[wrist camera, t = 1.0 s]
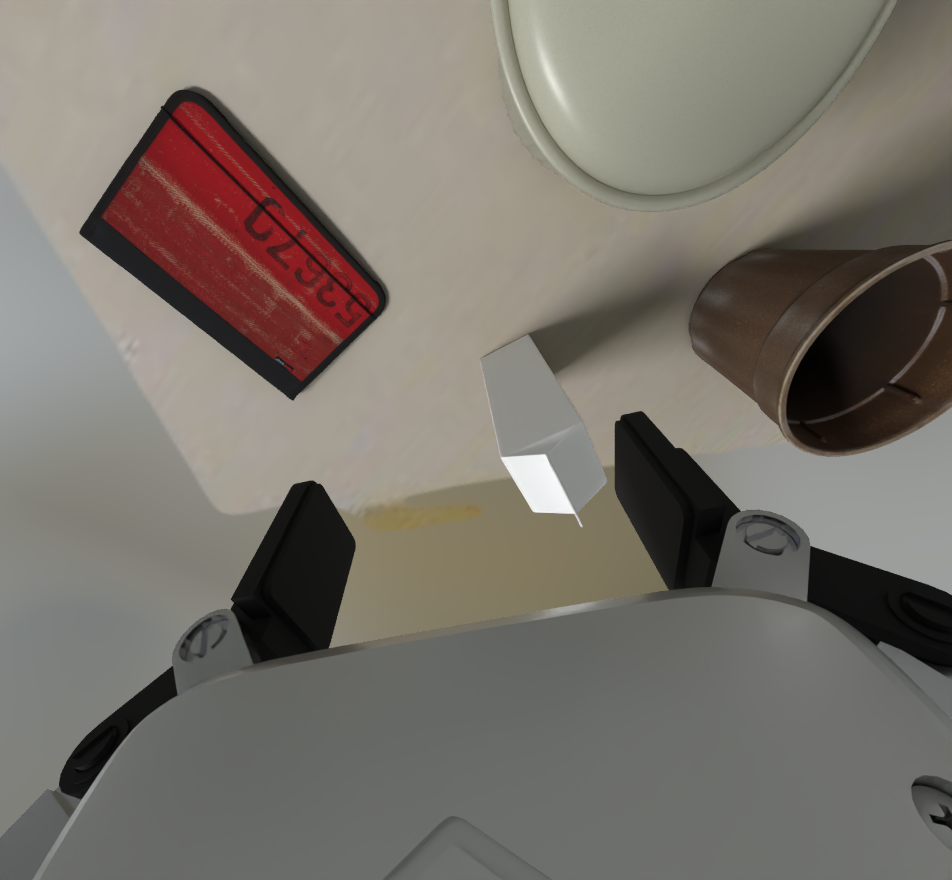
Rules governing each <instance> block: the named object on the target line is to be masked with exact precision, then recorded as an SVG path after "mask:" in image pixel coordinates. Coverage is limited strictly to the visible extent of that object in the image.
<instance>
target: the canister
mask: <svg viewBox="0 0 952 880" xmlns="http://www.w3.org/2000/svg"><path fill="white" fill-rule="evenodd" d="M897 1H898V0H490V7H491V15H492V22H493V29H494V34H495V40H496V45H497V49H498V54H499V76H500V80H501V84H502V97H503V100H504V101H505V104H506V108H507V116H508V117H509V118H510V120H511V123H512V125H513V128H514V132H515V133H516V134H517V135H518V137H519V138H520V140H521V143H522V146H524V147H525V148H526V149H527V150H528V151H529V152H530V154H531V156H532V157H533V158H535V159H537V160H538V161H539V162H540V163H541V164H542V166H543V167H545V168H547V169H550V170H552V171H553V172H554V173H556V174H558V175H560V176H562V177H564V178H565V179H566V180H567V181H568V182H569V183H571V184H572V185H573V186H574V187H576V188H577V189H579V190H580V191H582V192H583V193H585V194H587V195H588V196H590V197H592V198H594V199H596V200H598V201H600V202H603V203H605V204H608V205H611V206H614V207H617V208H621V209H626V210H632V211H641V212H661V211H671V210H677V209H682V208H686V207H690V206H694V205H697V204H700V203H703V202H706V201H708V200H711V199H713V198H716V197H718V196H720V195H722V194H724V193H726V192H728V191H730V190H732V189H734V188H736V187H738V186H739V185H741V184H743V183H744V182H746V181H748V180H749V179H751V178H752V177H754V176H755V175H757V174H758V173H759V172H761V171H762V170H764V169H765V168H766V167H768V166H769V165H770V164H771V163H773V162H774V161H775V160H776V159H778V158H779V157H780V156H781V155H782V154H784V153H785V152H786V151H787V150H788V149H789V148H790V147H791V146H792V145H794V144H795V143H796V142H797V141H798V140H799V139H800V138H801V137H802V136H803V135H804V134H805V133H806V132H807V131H808V130H809V129H810V127H811V126H812V125H813V124H814V123H815V122H816V121H817V120H818V119H819V118H820V117H821V115H822V114H823V113H824V112H825V111H826V110H827V108H828V107H829V106H830V105H831V103H832V102H833V101H834V100H835V99H836V97H837V96H838V95H839V93H840V92H841V91H842V89H843V88H844V87H845V85H846V84H847V83H848V81H849V80H850V79H851V77H852V76H853V74H854V73H855V71H856V70H857V69H858V67H859V66H860V64H861V63H862V61H863V60H864V58H865V57H866V55H867V53H868V52H869V50H870V49H871V47H872V45H873V44H874V42H875V41H876V39H877V37H878V36H879V34H880V32H881V30H882V29H883V27H884V25H885V23H886V22H887V20H888V18H889V16H890V14H891V12H892V11H893V9H894V7H895V5H896V3H897Z"/></svg>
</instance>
